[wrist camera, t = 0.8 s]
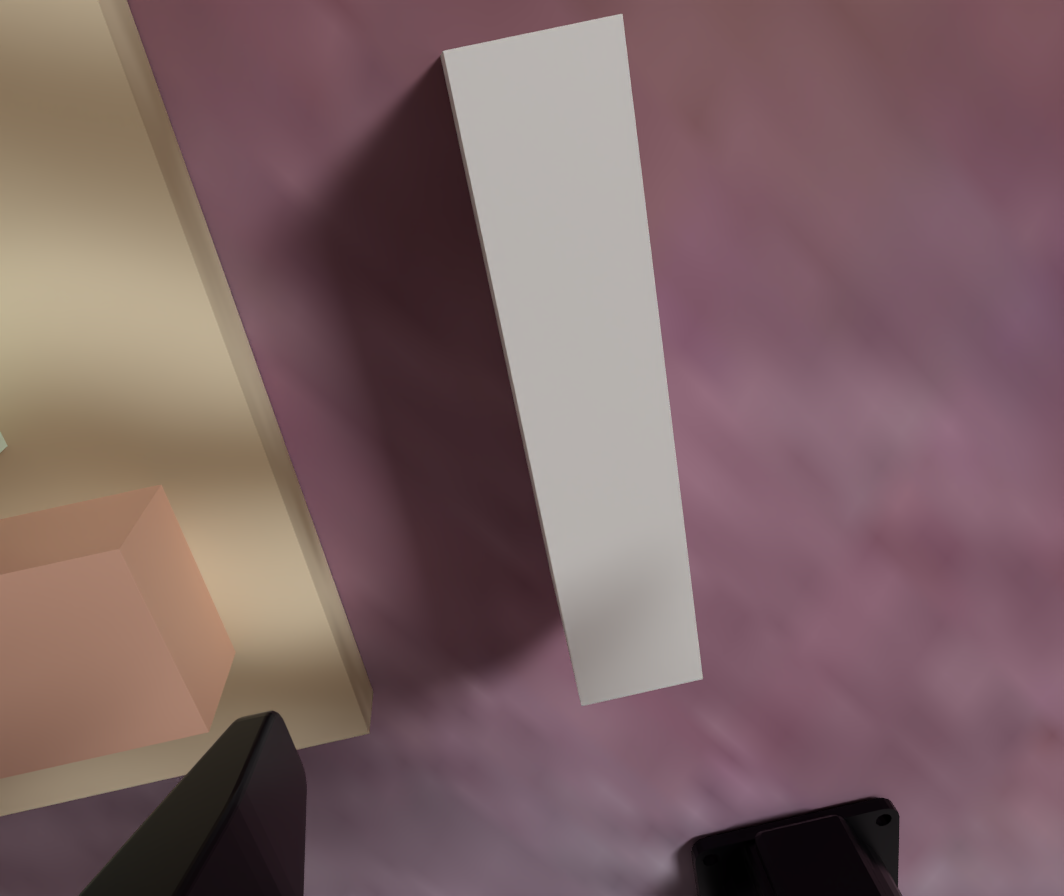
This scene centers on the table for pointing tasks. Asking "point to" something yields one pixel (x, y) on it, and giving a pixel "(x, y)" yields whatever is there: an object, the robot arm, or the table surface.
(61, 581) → the tile
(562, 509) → the long grey plank
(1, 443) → the tile
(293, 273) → the table surface
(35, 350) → the board
